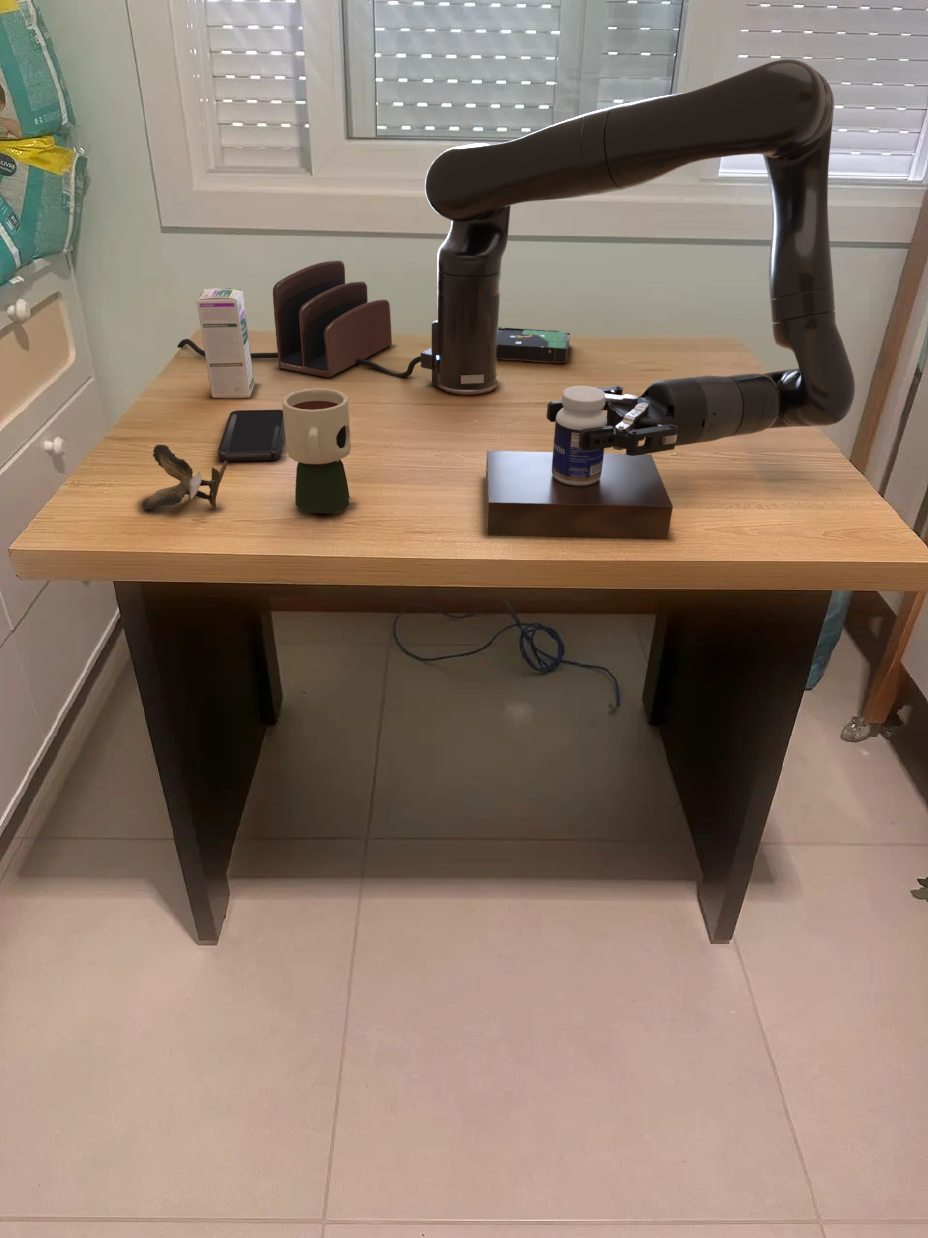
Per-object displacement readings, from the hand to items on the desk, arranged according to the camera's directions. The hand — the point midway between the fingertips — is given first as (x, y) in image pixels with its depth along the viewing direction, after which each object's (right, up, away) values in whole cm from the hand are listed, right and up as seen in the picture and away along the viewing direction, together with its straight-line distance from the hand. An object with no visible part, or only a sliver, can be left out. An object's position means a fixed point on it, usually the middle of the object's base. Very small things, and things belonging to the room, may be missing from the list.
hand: (563, 425), depth 97 cm
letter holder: (-32, +22, +51) cm, 64 cm away
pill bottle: (+2, -5, +4) cm, 7 cm away
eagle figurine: (-44, -8, +5) cm, 45 cm away
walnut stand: (+2, -8, +6) cm, 11 cm away
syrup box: (-46, +13, +36) cm, 60 cm away
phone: (-39, +3, +21) cm, 45 cm away
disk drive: (-1, +25, +55) cm, 60 cm away
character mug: (-27, -8, +5) cm, 29 cm away
